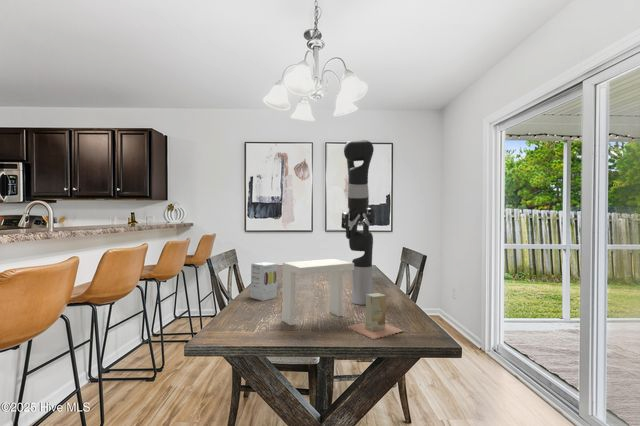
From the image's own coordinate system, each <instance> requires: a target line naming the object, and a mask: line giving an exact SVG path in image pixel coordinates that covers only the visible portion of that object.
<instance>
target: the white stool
mask: <svg viewBox="0 0 640 426" xmlns="http://www.w3.org/2000/svg"><path fill="white" fill-rule="evenodd" d="M352 270H354V263H352V261H345V260H342V259H337V258H327V259H315V260H314V259H313V260H302V261H288V262H282V303H281V304H282V308H281V310H282V311H281V313H282V315H281V316H282V319H281V321H282V322H284V323H286V324H287V325H289V326H294V325H296V274H297V275H299V276H303V275H313V274H322V273H329V293H328V294H329V295H328V296H329V297H328V299H329V300H328V302H329V303H328V307H329V308H328V311H329V314H332V315H334V316H336V317H342V316H343V289H344V288H343V282H344V281H343V276H344V275H343V271H352Z"/></svg>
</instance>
